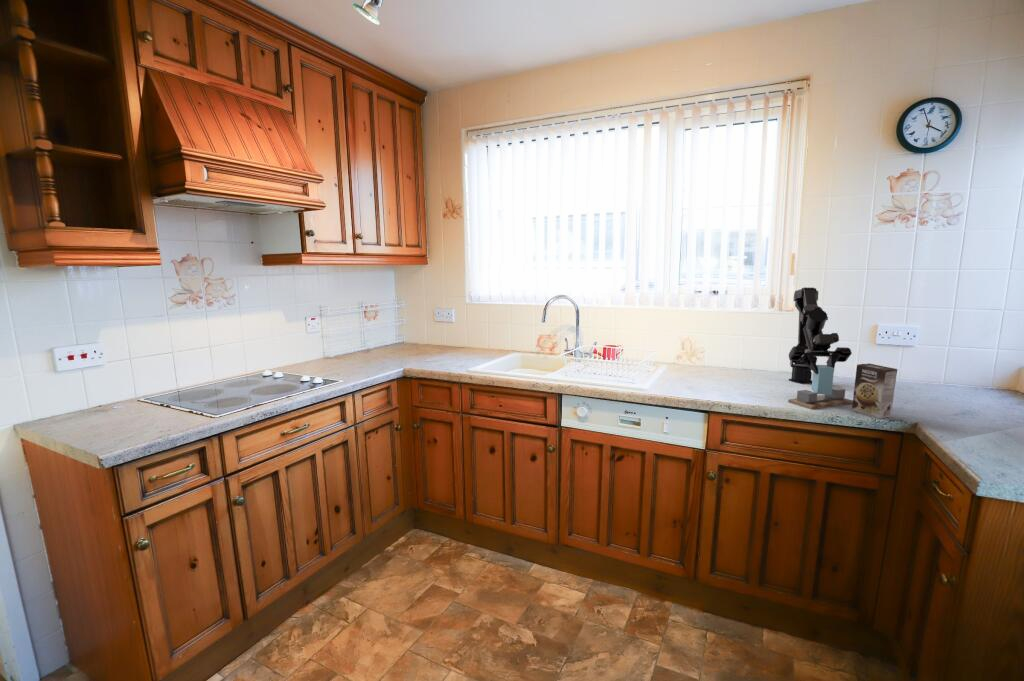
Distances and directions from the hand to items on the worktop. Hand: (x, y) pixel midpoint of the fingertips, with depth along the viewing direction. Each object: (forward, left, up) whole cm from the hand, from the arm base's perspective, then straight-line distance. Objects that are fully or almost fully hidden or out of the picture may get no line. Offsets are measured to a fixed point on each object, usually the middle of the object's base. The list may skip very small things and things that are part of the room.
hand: (824, 373), depth 169 cm
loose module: (-1, +1, -7) cm, 7 cm away
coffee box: (+14, +5, -11) cm, 18 cm away
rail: (-1, +1, -11) cm, 11 cm away
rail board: (-1, +1, -11) cm, 11 cm away
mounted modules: (-1, +1, -9) cm, 9 cm away
